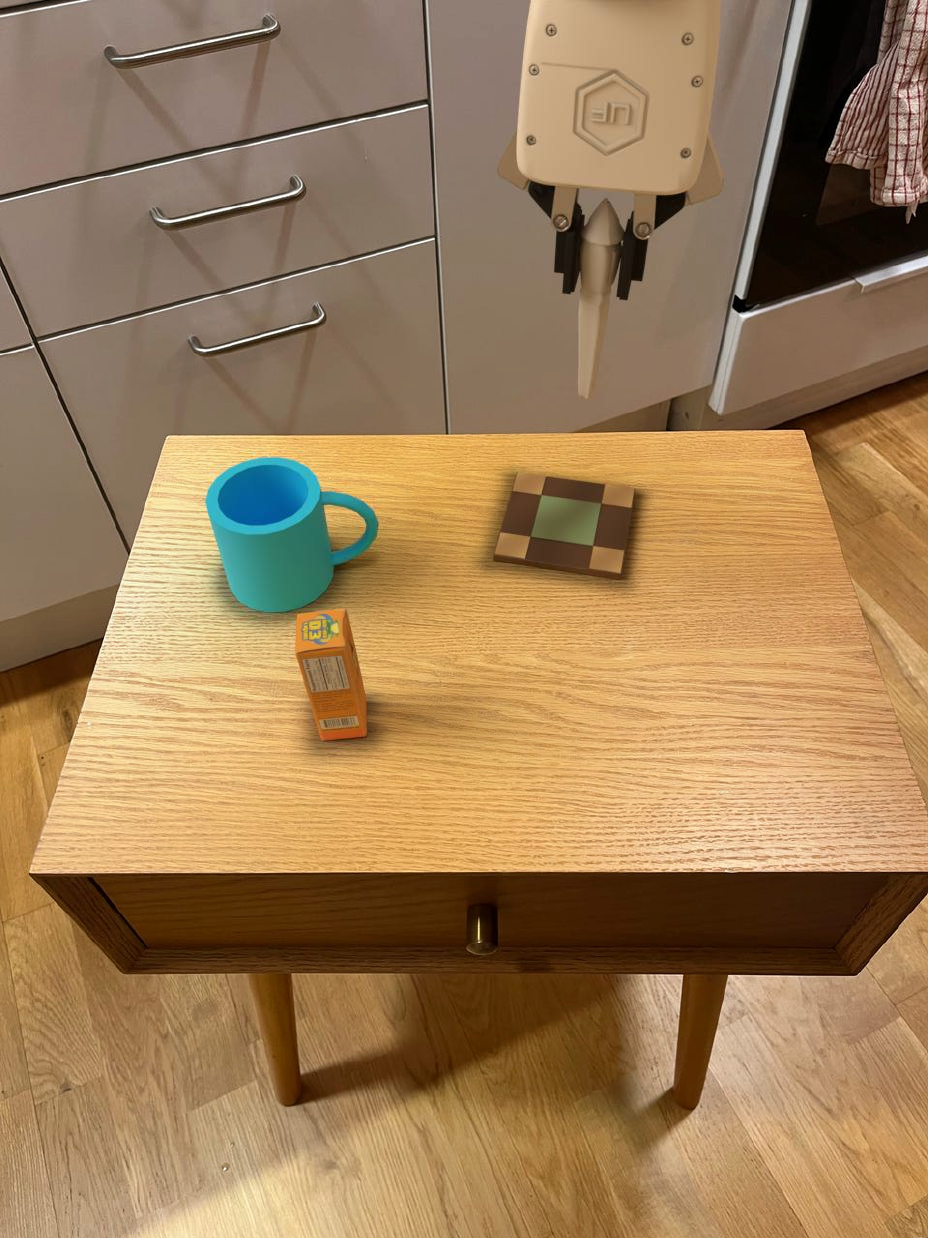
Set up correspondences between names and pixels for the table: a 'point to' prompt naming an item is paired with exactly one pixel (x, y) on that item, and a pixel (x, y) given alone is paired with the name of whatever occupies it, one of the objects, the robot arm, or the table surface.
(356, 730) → the supplement box
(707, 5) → the robot arm
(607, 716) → the table surface
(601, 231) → the beige tapered rod
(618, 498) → the board
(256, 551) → the mug
